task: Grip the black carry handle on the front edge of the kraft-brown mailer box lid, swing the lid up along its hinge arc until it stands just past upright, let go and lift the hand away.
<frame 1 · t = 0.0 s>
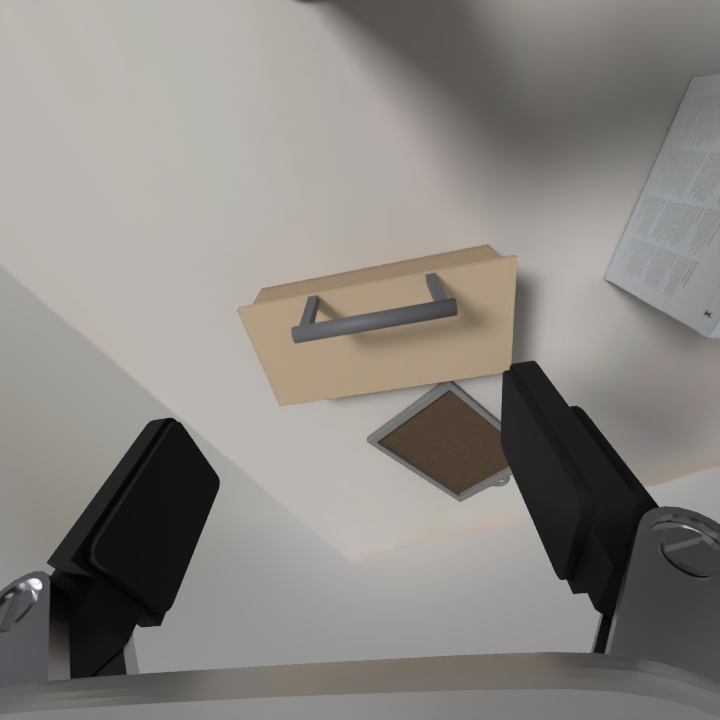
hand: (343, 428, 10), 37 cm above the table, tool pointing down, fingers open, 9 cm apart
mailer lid: (382, 359, 38), point 12 cm above the table, hinge at 0.0°
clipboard: (457, 446, 65), on the table
skincare box: (662, 192, 40), on the table
mailer box: (379, 314, 49), on the table
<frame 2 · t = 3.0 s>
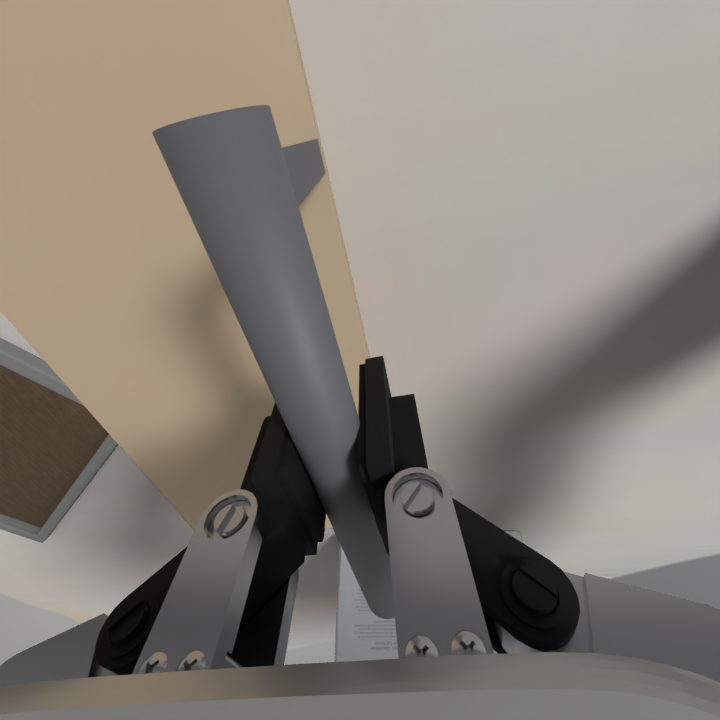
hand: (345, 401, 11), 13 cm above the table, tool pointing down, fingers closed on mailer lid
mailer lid: (167, 408, 13), point 12 cm above the table, hinge at 0.0°, touching gripper
skincare box: (427, 538, 41), on the table
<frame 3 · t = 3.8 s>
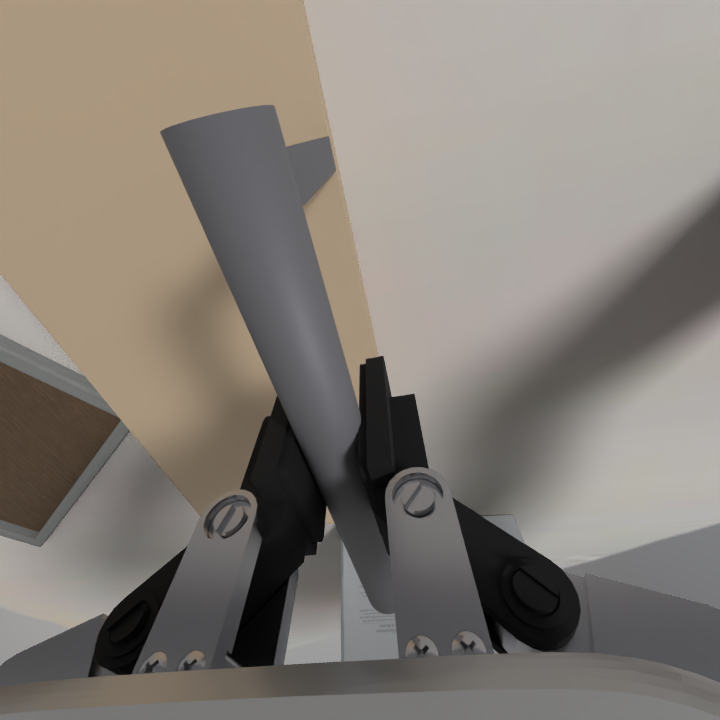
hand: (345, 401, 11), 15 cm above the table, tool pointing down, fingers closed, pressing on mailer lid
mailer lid: (177, 399, 13), point 13 cm above the table, hinge at 5.2°, touching gripper
skincare box: (425, 526, 43), on the table
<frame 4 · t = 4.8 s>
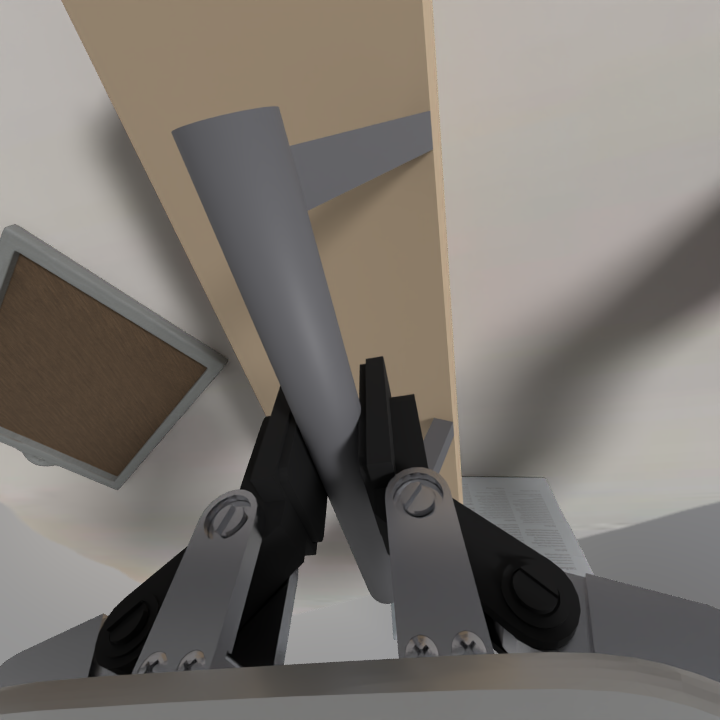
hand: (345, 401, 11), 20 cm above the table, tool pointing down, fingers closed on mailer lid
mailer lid: (256, 349, 15), point 15 cm above the table, hinge at 28.6°, touching gripper
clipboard: (82, 389, 37), on the table
skincare box: (462, 487, 46), on the table
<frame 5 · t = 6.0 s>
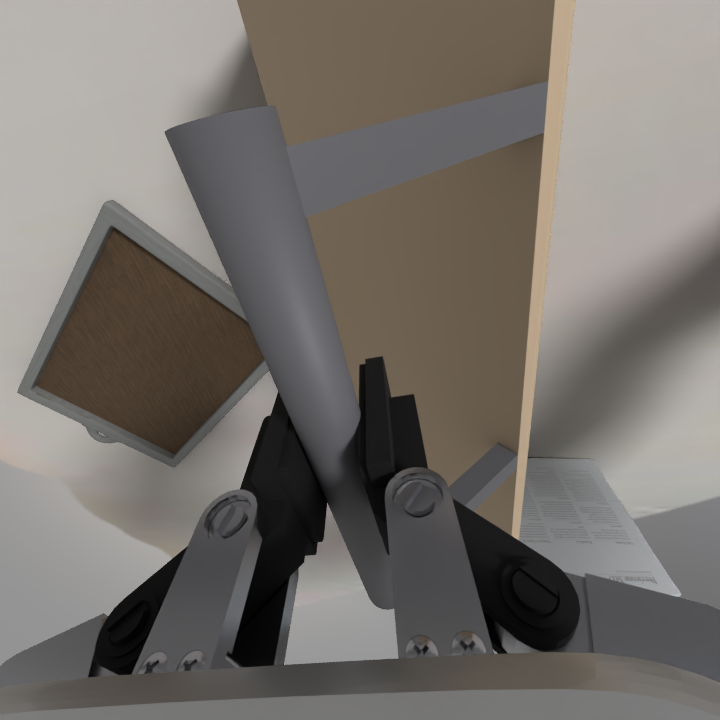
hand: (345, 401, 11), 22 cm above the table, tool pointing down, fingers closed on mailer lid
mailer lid: (327, 325, 16), point 17 cm above the table, hinge at 52.8°, touching gripper
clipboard: (151, 366, 39), on the table
skincare box: (509, 468, 47), on the table
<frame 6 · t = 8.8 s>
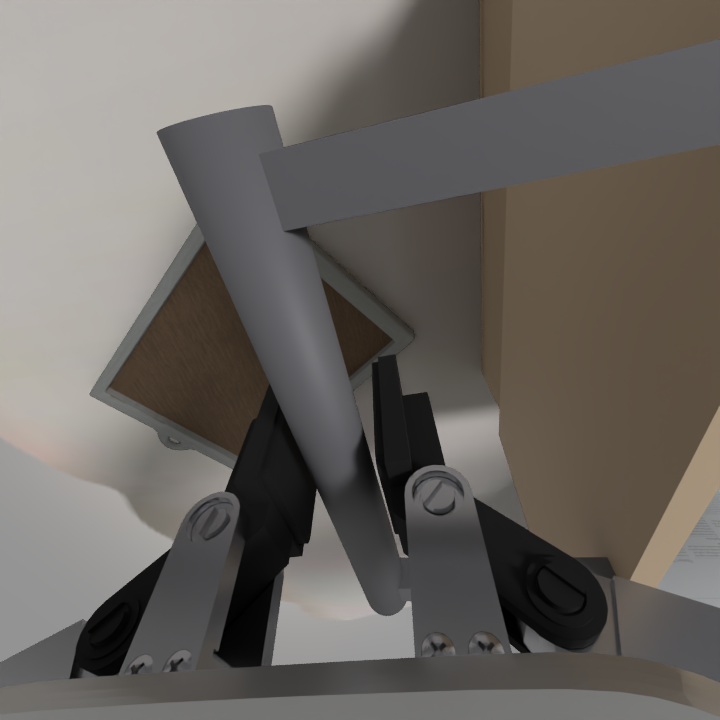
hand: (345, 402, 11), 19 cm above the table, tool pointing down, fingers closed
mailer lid: (454, 319, 14), point 15 cm above the table, hinge at 94.9°
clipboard: (239, 366, 35), on the table
skincare box: (611, 476, 43), on the table
mailer box: (580, 192, 25), on the table
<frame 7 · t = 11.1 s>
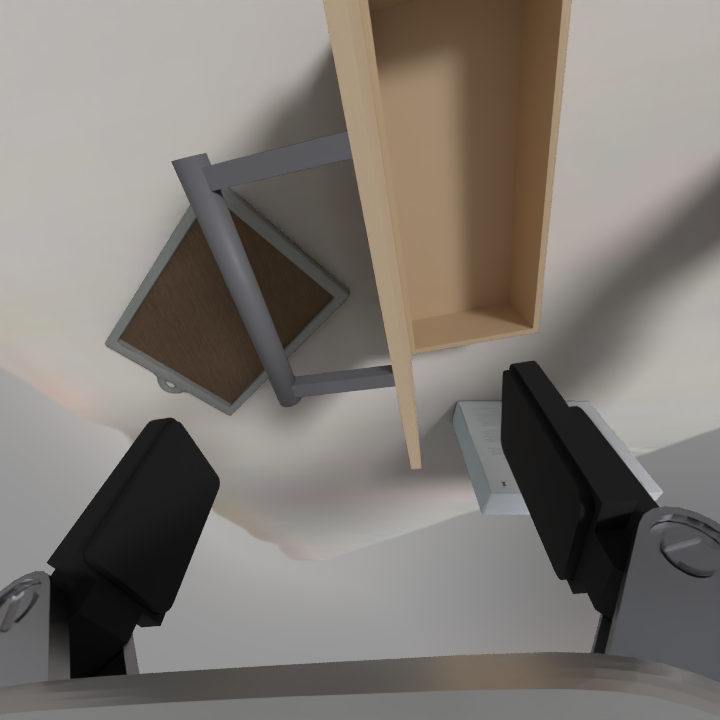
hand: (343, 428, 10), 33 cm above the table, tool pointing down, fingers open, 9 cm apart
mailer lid: (329, 254, 25), point 15 cm above the table, hinge at 94.9°
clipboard: (221, 321, 45), on the table
skincare box: (518, 412, 55), on the table
mailer box: (449, 187, 36), on the table
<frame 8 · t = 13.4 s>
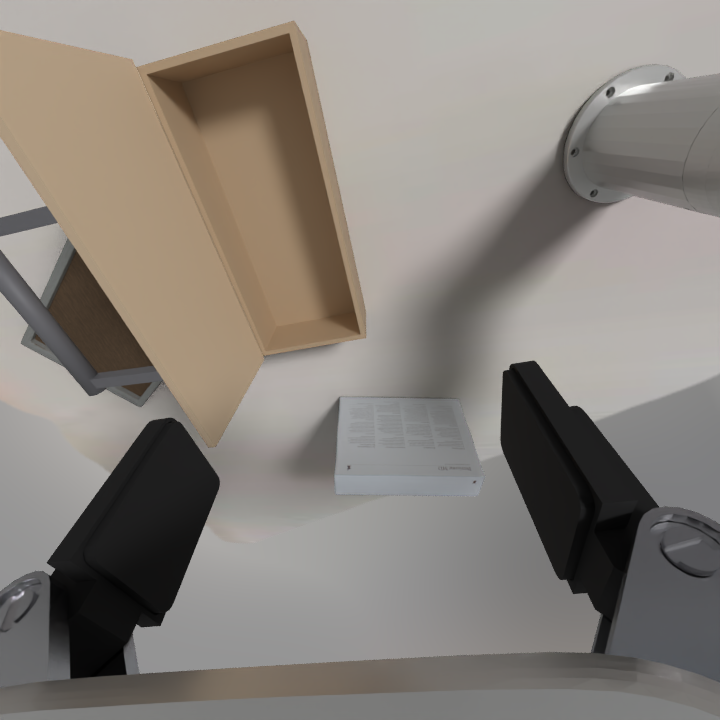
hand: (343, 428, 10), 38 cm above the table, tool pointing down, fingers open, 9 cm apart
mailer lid: (133, 277, 32), point 15 cm above the table, hinge at 94.9°
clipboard: (120, 324, 53), on the table
skincare box: (398, 407, 61), on the table
mailer box: (287, 215, 43), on the table
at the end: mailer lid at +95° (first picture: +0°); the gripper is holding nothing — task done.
